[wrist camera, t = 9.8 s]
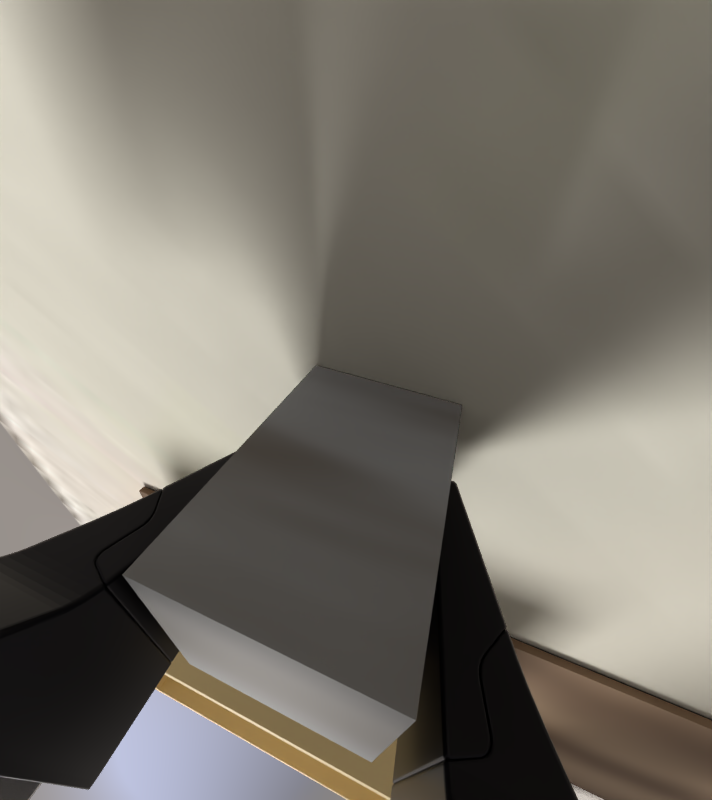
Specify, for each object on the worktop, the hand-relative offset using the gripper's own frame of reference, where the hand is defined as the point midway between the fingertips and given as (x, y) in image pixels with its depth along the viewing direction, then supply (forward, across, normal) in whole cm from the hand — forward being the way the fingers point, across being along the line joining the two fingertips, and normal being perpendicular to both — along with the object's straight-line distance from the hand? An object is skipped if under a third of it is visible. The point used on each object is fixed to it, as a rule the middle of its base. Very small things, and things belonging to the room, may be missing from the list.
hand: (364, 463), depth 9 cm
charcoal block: (+1, 0, 0) cm, 1 cm away
